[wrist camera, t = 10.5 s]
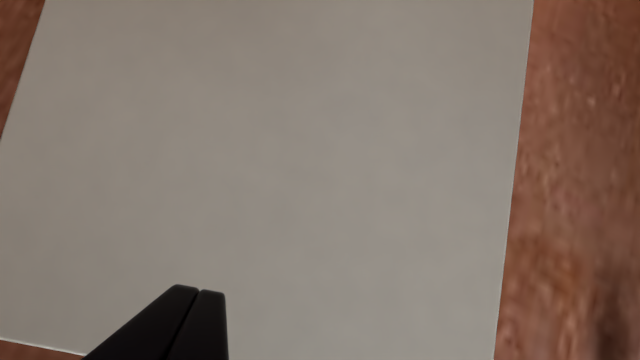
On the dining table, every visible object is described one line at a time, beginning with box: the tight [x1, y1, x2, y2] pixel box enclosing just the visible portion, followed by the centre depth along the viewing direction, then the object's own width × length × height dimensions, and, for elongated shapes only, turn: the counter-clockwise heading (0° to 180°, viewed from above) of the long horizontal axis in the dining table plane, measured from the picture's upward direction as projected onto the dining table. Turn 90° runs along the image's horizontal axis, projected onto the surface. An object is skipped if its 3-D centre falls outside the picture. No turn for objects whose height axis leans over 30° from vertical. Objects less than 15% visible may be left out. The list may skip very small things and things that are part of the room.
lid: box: [0, 0, 534, 360], centre depth 13 cm, size 13×12×1 cm
